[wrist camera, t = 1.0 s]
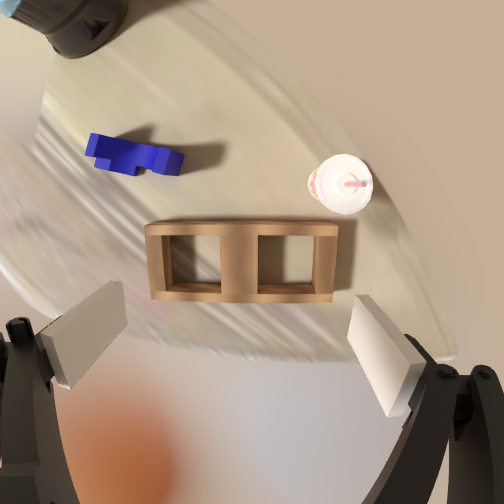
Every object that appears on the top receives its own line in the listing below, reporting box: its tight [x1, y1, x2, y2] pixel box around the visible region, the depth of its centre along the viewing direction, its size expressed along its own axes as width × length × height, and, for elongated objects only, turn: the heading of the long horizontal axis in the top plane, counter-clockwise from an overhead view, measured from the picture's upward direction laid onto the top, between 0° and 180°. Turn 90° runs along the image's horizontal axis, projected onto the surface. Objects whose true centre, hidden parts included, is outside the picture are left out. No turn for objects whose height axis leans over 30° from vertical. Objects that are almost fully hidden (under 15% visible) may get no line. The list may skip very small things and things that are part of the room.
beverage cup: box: [308, 154, 373, 215], centre depth 27 cm, size 6×6×14 cm
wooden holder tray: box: [144, 221, 338, 303], centre depth 35 cm, size 24×10×4 cm, turn 90°
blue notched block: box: [85, 133, 185, 176], centre depth 31 cm, size 12×4×6 cm, turn 72°
